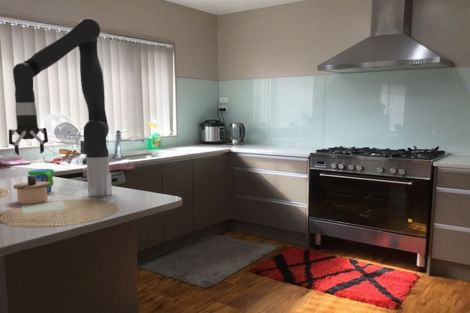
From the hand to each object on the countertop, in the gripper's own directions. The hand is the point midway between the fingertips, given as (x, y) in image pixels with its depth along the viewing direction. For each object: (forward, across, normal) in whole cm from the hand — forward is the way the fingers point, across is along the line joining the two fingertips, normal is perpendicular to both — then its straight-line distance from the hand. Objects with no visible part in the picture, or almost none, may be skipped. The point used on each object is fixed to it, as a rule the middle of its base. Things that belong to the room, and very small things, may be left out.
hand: (29, 154), depth 169 cm
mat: (+20, -3, +16) cm, 26 cm away
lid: (+13, 0, 0) cm, 13 cm away
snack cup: (+20, -4, -22) cm, 30 cm away
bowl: (+20, 0, 0) cm, 20 cm away
